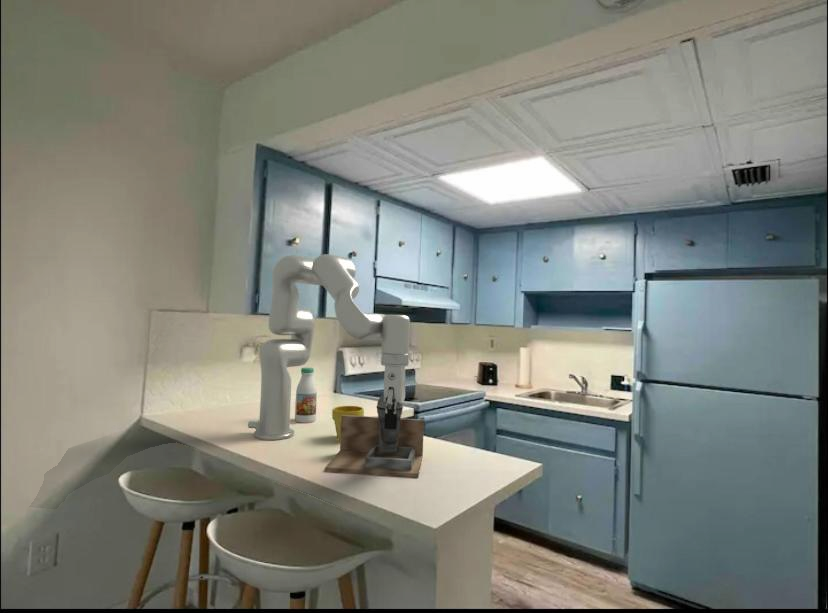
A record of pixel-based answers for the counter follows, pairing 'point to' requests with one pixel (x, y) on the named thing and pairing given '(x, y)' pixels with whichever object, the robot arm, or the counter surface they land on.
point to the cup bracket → (378, 448)
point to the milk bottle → (306, 397)
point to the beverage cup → (388, 436)
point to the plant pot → (344, 410)
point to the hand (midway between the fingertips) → (392, 425)
